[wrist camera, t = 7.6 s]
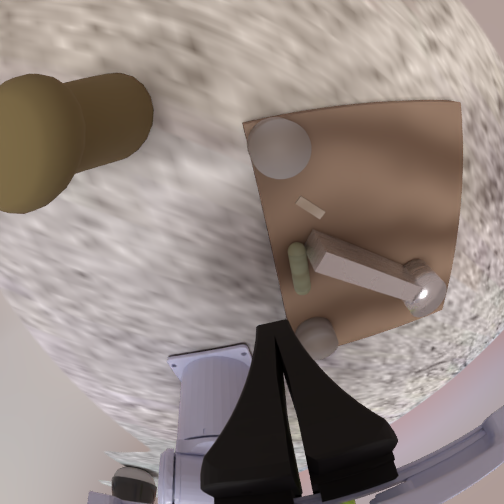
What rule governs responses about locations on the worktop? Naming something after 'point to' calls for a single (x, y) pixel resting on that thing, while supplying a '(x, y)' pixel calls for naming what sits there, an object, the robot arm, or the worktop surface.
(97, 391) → the worktop surface
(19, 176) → the cork
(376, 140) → the brown latch board
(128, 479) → the black rounded dome
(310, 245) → the lever handle
